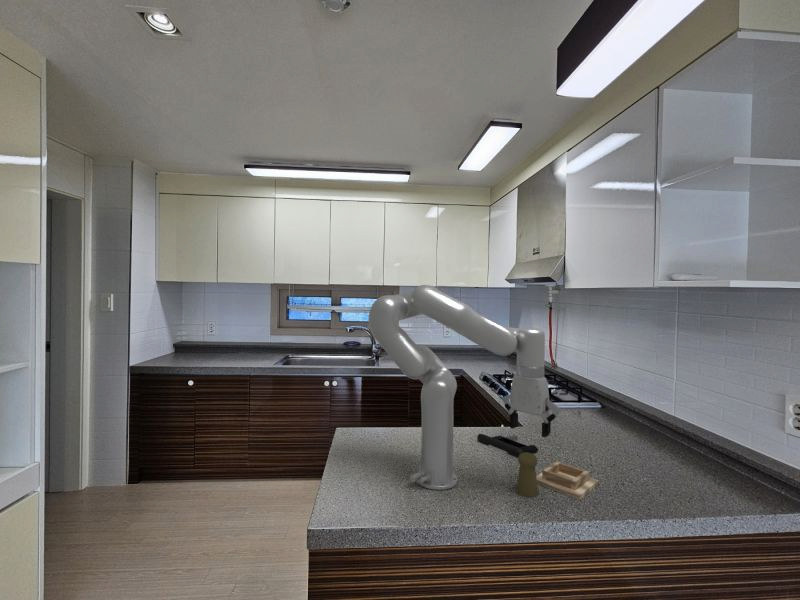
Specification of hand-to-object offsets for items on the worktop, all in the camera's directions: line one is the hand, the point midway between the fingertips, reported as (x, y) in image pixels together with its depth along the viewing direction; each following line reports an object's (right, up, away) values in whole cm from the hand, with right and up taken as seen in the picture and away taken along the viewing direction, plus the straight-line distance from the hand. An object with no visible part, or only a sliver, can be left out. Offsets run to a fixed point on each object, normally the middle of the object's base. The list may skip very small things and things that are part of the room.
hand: (529, 431), depth 115 cm
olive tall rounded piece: (-1, -18, 0) cm, 18 cm away
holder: (+13, -18, +6) cm, 23 cm away
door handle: (+4, -18, +36) cm, 40 cm away
